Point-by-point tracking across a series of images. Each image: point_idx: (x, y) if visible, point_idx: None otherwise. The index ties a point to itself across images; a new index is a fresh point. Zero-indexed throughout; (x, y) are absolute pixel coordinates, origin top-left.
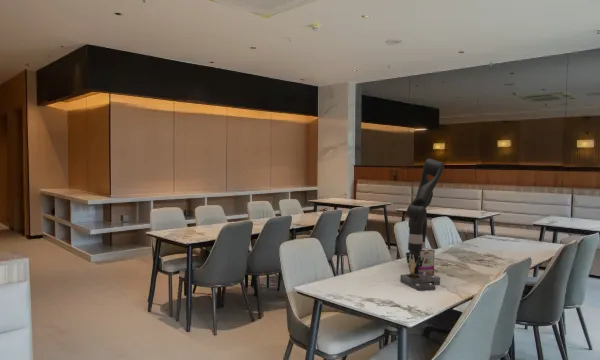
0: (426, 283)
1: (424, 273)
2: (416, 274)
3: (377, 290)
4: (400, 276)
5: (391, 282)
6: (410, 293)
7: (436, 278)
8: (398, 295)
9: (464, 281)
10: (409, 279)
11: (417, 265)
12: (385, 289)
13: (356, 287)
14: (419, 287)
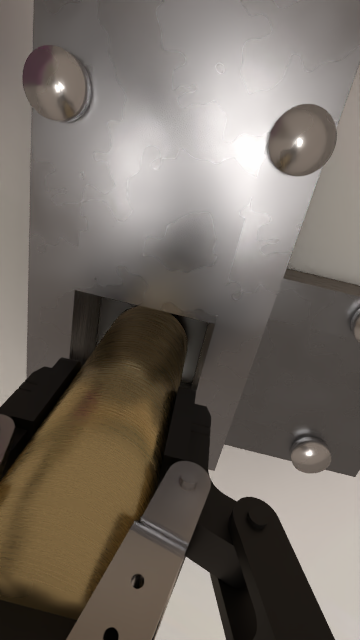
0: (315, 324)
1: (80, 112)
2: (176, 390)
3: (179, 607)
4: None
5: None
6: (339, 530)
7: (342, 97)
8: (318, 598)
9: None
10: None
11: (236, 585)
12: (184, 572)
13: None
14: (355, 473)
